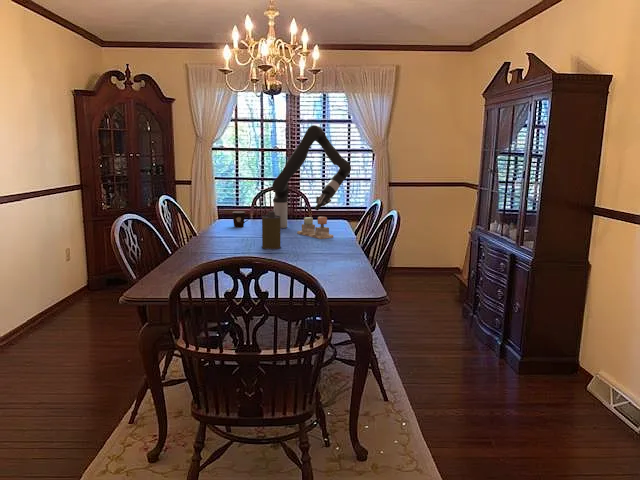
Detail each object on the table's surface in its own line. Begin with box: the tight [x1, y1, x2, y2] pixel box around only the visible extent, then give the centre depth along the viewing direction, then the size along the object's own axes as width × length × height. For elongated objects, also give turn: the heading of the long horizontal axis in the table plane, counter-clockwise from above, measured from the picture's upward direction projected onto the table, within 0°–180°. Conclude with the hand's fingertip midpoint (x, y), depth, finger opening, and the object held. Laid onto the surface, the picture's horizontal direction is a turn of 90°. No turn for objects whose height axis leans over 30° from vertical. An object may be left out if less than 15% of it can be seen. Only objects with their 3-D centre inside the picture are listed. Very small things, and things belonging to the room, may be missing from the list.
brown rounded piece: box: [317, 216, 328, 228], centre depth 320 cm, size 6×6×7 cm
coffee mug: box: [232, 210, 252, 228], centre depth 355 cm, size 12×9×10 cm
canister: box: [261, 210, 282, 250], centre depth 286 cm, size 11×10×20 cm
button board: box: [296, 223, 334, 240], centre depth 326 cm, size 24×10×6 cm, turn 39°
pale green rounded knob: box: [303, 216, 314, 225], centre depth 331 cm, size 6×6×7 cm
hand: (316, 209), depth 324 cm, fingers closed
